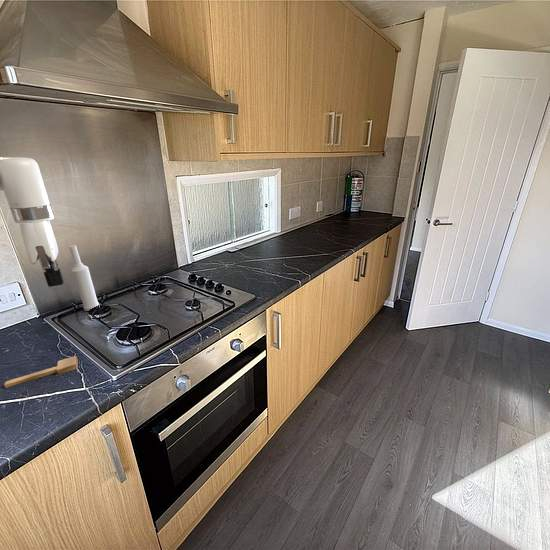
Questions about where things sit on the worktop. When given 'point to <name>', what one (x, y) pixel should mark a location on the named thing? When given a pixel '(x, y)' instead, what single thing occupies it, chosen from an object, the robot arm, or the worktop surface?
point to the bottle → (83, 281)
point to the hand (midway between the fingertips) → (56, 284)
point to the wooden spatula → (47, 371)
